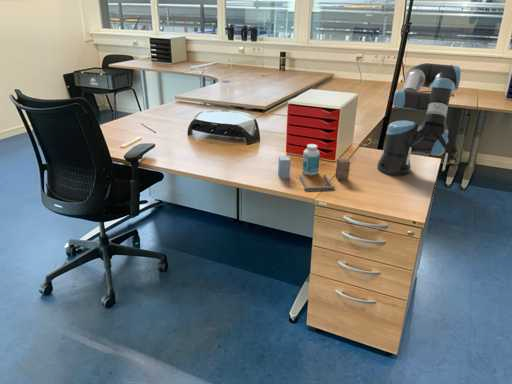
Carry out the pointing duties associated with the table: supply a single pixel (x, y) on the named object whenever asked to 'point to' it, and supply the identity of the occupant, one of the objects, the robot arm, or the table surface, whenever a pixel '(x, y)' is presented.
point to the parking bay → (317, 187)
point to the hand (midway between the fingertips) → (425, 166)
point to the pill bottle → (311, 160)
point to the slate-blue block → (284, 167)
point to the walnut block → (342, 169)
